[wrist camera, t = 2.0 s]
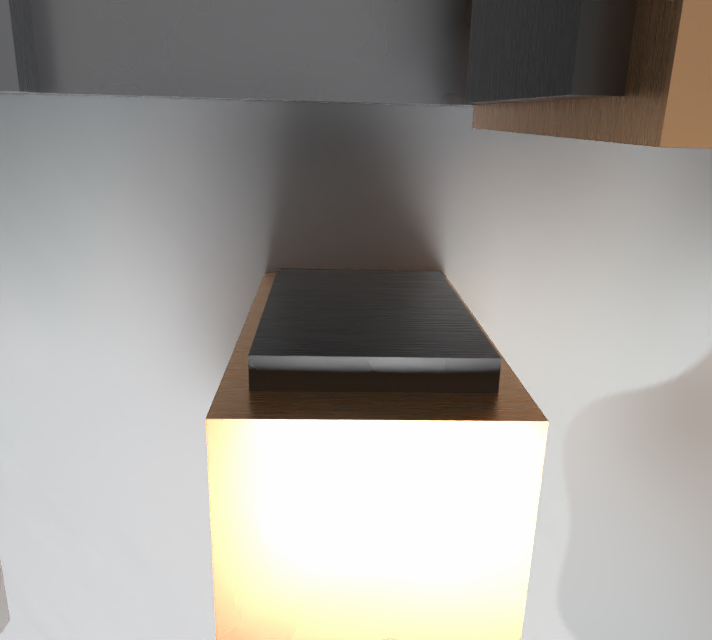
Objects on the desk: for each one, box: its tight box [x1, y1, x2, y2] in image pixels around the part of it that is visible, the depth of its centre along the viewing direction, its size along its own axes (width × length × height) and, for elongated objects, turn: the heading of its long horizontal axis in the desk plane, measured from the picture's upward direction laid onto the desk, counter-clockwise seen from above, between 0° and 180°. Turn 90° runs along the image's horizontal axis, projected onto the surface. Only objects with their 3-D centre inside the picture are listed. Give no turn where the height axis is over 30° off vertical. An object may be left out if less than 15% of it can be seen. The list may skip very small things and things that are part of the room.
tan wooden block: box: [206, 269, 549, 640], centre depth 14 cm, size 6×5×9 cm
